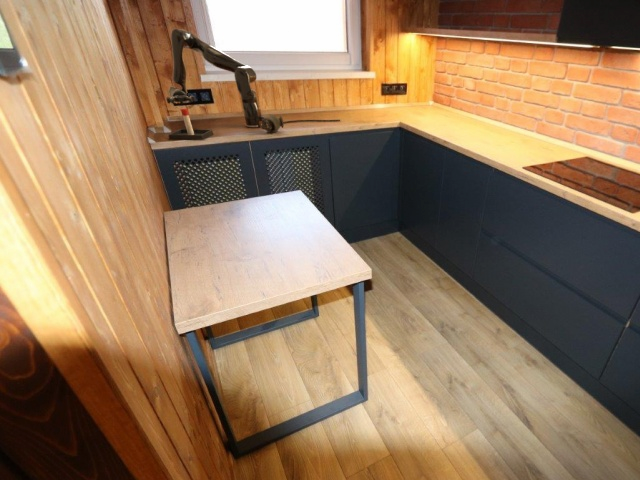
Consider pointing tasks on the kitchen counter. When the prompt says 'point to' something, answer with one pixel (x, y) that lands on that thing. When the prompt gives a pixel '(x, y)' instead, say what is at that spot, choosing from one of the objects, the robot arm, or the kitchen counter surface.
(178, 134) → the tray
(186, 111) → the marker
